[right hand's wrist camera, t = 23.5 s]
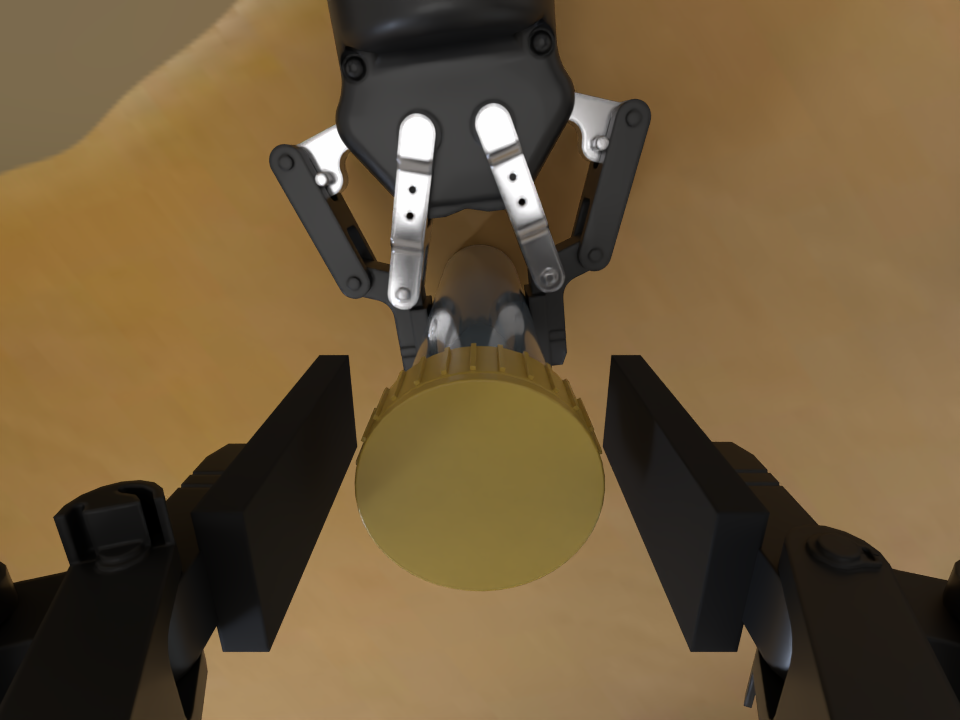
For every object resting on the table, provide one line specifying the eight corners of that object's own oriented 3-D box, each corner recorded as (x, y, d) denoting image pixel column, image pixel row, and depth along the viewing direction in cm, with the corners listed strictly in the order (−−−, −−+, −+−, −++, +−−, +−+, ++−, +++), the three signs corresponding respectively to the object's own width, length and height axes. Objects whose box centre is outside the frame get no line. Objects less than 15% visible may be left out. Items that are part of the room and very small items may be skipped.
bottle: (505, 328, 29) (540, 558, 12) (433, 308, 28) (368, 519, 12) (528, 256, 27) (602, 405, 11) (452, 235, 27) (408, 355, 10)
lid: (598, 520, 13) (618, 578, 11) (396, 547, 13) (383, 608, 11) (578, 324, 11) (597, 355, 9) (345, 361, 11) (320, 398, 9)
